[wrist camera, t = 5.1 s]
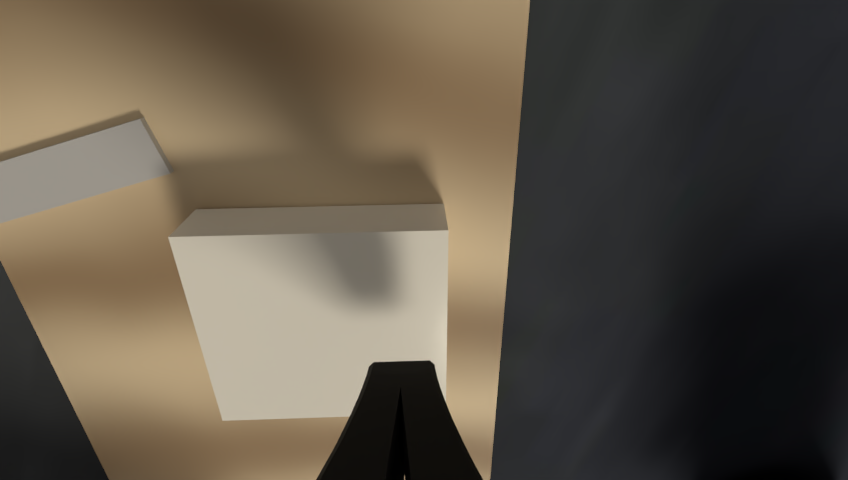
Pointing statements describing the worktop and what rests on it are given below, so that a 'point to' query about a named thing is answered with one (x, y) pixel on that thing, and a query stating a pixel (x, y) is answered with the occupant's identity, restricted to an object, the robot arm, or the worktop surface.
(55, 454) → the worktop surface
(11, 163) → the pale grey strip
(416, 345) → the tile
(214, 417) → the wooden cutting board
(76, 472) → the worktop surface
